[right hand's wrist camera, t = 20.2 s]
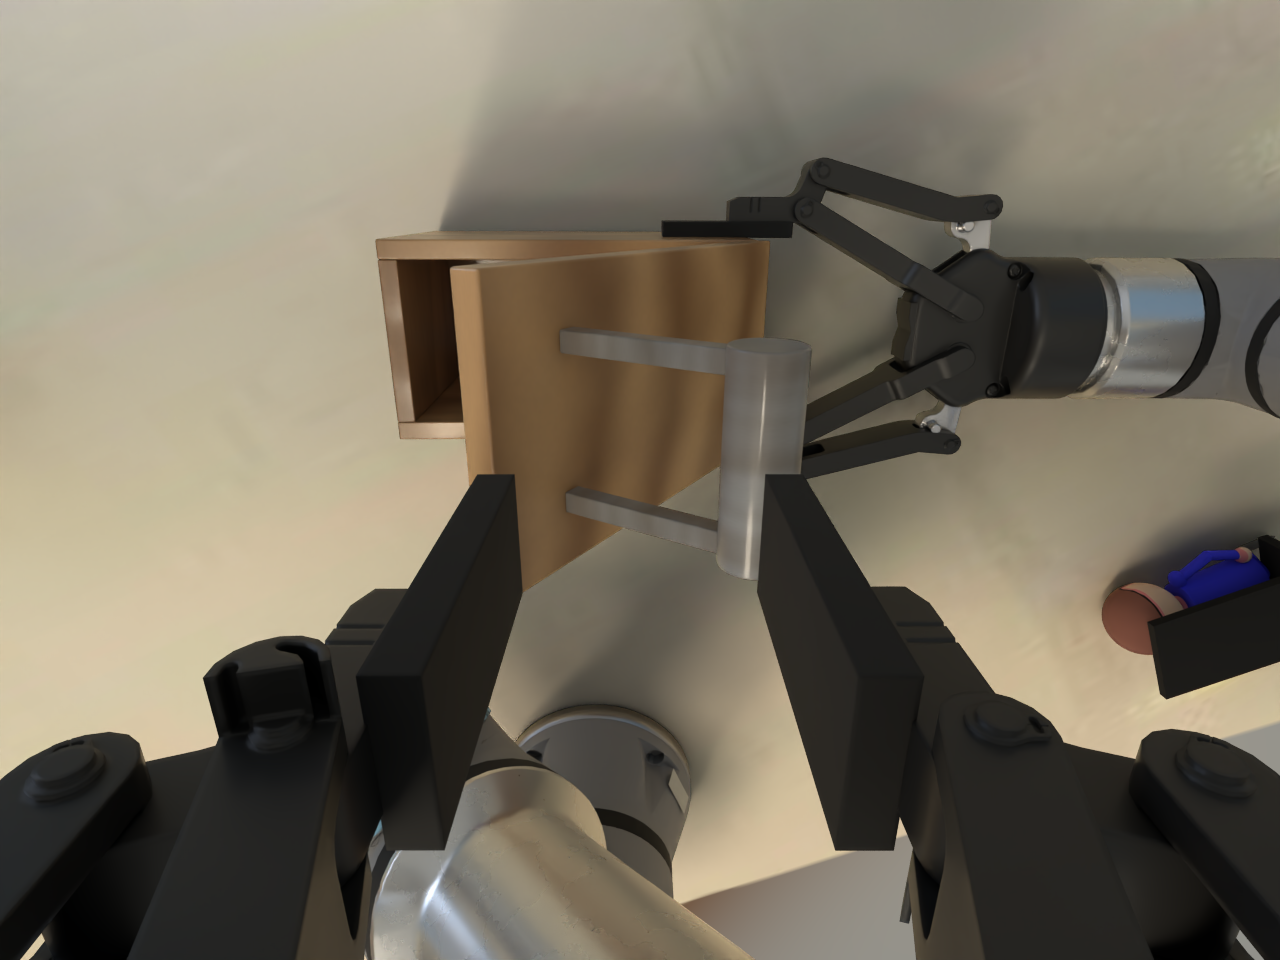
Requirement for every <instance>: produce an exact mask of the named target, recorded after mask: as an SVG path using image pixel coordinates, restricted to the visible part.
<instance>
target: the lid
mask: <svg viewBox="0 0 1280 960" xmlns="http://www.w3.org/2000/svg"><path fill="white" fill-rule="evenodd" d="M769 250H770V241H756V240H749V241H738V242H726V243H715V244H703V245H692V246H680V247H669V248H657V249H646V250H634V251H623V252H611V253H600V254H588V255H577V256H565V257H554V258H542V259H531V260H519V261H508V262H497V263H485V264H474V265H462V266H453V267H451V268H450V275H451V286H452V298H453V309H454V320H455V331H456V342H457V353H458V364H459V375H460V386H461V397H462V408H463V419H464V431H465V442H466V453H467V464H468V475H469V486H471V484H472V482H473V481H474V479H475V477H476V476H477V474H515V485H516V500H517V514H518V529H519V543H520V558H521V572H522V587H523V592H524V591H526V590H528V589H529V588H531V587H532V586H534V585H535V584H537V583H538V582H540V581H542V580H543V579H545V578H546V577H548V576H549V575H551V574H552V573H554V572H556V571H557V570H559V569H560V568H562V567H563V566H565V565H566V564H568V563H570V562H571V561H573V560H574V559H576V558H577V557H579V556H580V555H582V554H584V553H585V552H587V551H588V550H590V549H591V548H593V547H594V546H596V545H598V544H599V543H601V542H602V541H604V540H605V539H607V538H608V537H610V536H612V535H613V534H615V533H616V532H618V531H619V530H621V529H622V528H626V529H630V530H634V531H637V532H641V533H644V534H648V535H652V536H655V537H659V538H662V539H666V540H670V541H673V542H677V543H680V544H684V545H688V546H691V547H695V548H698V549H702V550H706V551H709V552H713V553H716V562H717V564H718V566H719V567H720V568H721V569H722V570H723V571H724V572H726V573H728V574H730V575H732V576H735V577H738V578H741V579H746V580H755V581H758V572H759V558H760V543H761V529H762V514H763V500H764V485H765V474H800V473H801V462H802V451H803V440H804V429H805V418H806V407H807V397H808V386H809V375H810V364H811V353H812V348H811V346H810V345H809V344H806V343H804V342H800V341H796V340H790V339H781V338H764V325H765V310H766V295H767V280H768V265H769ZM719 466H720V486H719V507H718V521H715V520H711V519H707V518H703V517H699V516H695V515H691V514H687V513H683V512H679V511H675V510H671V509H667V508H664V507H660V506H658V505H660V504H661V503H663V502H664V501H666V500H667V499H669V498H671V497H672V496H674V495H675V494H677V493H678V492H680V491H681V490H683V489H685V488H686V487H688V486H689V485H691V484H692V483H694V482H695V481H697V480H699V479H700V478H702V477H703V476H705V475H706V474H708V473H709V472H711V471H713V470H714V469H716V468H717V467H719Z"/></svg>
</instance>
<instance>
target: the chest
mask: <svg viewBox="0 0 1280 960" xmlns="http://www.w3.org/2000/svg"><path fill="white" fill-rule="evenodd" d="M661 233H662V232H575V231H431V232H425V233H417V234H410V235H403V236H395V237H388V238H381V239H376V249H377V257H378V259H380V260H378V266H379V274H380V282H381V290H382V298H383V306H384V314H385V322H386V330H387V338H388V346H389V354H390V362H391V370H392V378H393V386H394V394H395V402H396V410H397V418H398V427H399V435H400V439H465V431H464V419H463V408H462V397H461V386H460V375H459V364H458V353H457V342H456V331H455V320H454V309H453V298H452V286H451V275H450V268H451V267H453V266H462V265H474V264H485V263H497V262H508V261H519V260H531V259H542V258H554V257H565V256H577V255H588V254H600V253H611V252H623V251H634V250H646V249H657V248H669V247H680V246H692V245H703V244H715V243H726V242H738V241H749V240H754V239H750V238H746V237H663V236H662V235H661ZM756 241H757V240H756Z"/></svg>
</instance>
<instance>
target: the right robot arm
mask: <svg viewBox="0 0 1280 960" xmlns="http://www.w3.org/2000/svg"><path fill="white" fill-rule="evenodd" d="M522 593H523V587H522V572H521V558H520V543H519V529H518V514H517V500H516V485H515V474H477V476H476V477H475V479H474V481H473V482H472V484H471V486H470V487H469V489H468V490H467V492H466V494H465V495H464V497H463V499H462V500H461V502H460V504H459V505H458V507H457V509H456V510H455V512H454V514H453V515H452V517H451V519H450V520H449V522H448V524H447V525H446V527H445V529H444V530H443V532H442V534H441V535H440V537H439V539H438V540H437V542H436V543H435V545H434V547H433V548H432V550H431V552H430V553H429V555H428V557H427V558H426V560H425V562H424V563H423V565H422V567H421V568H420V570H419V572H418V573H417V575H416V577H415V578H414V580H413V582H412V583H411V585H410V587H409V588H408V589H374V590H373V591H371V592H370V593H368V594H367V595H365V596H364V597H363V598H361V599H360V600H358V601H357V602H355V603H354V604H352V605H351V606H350V607H349V609H348V610H347V611H346V613H345V614H344V615H343V617H342V618H341V620H340V621H339V622H338V624H337V628H336V629H333V631H332V632H331V634H330V635H329V636H328V638H327V639H326V640H325V644H324V643H322V642H321V641H320V640H318V639H314V638H309V637H305V636H280V637H275V638H271V639H267V640H262V641H258V642H255V643H252V644H250V645H247V646H245V647H243V648H240V649H238V650H235V651H233V652H232V653H230V654H229V655H227V656H226V657H224V658H223V659H221V660H220V661H218V662H217V663H215V664H214V665H213V666H212V668H211V669H210V670H209V671H208V672H207V674H206V675H205V676H204V677H203V680H204V684H205V688H206V691H207V695H208V699H209V702H210V706H211V710H212V713H213V717H214V721H215V724H216V728H217V732H218V736H219V739H218V741H217V744H216V746H213V747H209V748H206V749H202V750H198V751H194V752H189V753H185V754H180V755H175V756H171V757H166V758H161V759H157V760H152V761H148V762H145V759H144V756H143V753H142V750H141V747H140V744H139V743H138V742H137V741H136V740H135V739H133V738H132V737H131V736H129V735H127V734H120V733H113V732H105V733H98V734H90V735H84V736H81V737H77V738H73V739H71V740H66V741H64V742H61V743H58V744H55V745H53V746H52V747H50V748H48V749H46V750H44V751H42V752H40V753H38V754H36V755H34V756H32V757H30V758H28V759H27V760H26V761H24V762H23V763H22V764H20V765H19V766H17V767H16V768H15V769H13V770H12V771H11V772H9V773H8V774H7V775H5V776H4V777H3V778H2V779H1V780H0V960H20V959H21V958H22V957H23V955H24V954H25V953H26V952H27V950H28V949H29V948H30V947H31V945H32V944H33V943H34V942H35V940H36V939H37V938H38V937H39V935H40V934H41V933H42V935H43V937H44V939H45V942H44V943H43V944H42V945H41V947H40V948H39V949H38V951H37V952H36V953H35V954H34V956H33V957H32V958H30V959H29V960H364V954H365V944H366V934H367V924H368V914H369V905H370V895H371V885H372V874H371V867H370V861H369V856H368V851H367V850H368V848H369V846H370V843H371V841H372V838H373V836H374V834H375V831H376V829H377V827H378V824H379V822H380V819H381V824H382V829H383V835H384V841H385V846H386V851H445V848H446V844H447V841H448V838H449V834H450V831H451V828H452V824H453V821H454V818H455V815H456V811H457V808H458V805H459V801H460V798H461V795H462V791H463V788H464V785H465V781H466V778H467V775H468V772H469V768H470V765H471V762H472V758H473V755H474V752H475V748H476V745H477V742H478V739H479V735H480V732H481V729H482V725H483V722H484V719H485V715H486V712H487V709H488V705H489V702H490V699H491V696H492V692H493V689H494V686H495V682H496V679H497V676H498V672H499V669H500V666H501V663H502V659H503V656H504V653H505V649H506V646H507V643H508V639H509V636H510V633H511V629H512V626H513V623H514V620H515V616H516V613H517V610H518V606H519V603H520V600H521V596H522ZM757 593H758V596H759V600H760V603H761V606H762V610H763V613H764V616H765V620H766V623H767V626H768V629H769V633H770V636H771V639H772V643H773V646H774V649H775V653H776V656H777V659H778V663H779V666H780V669H781V672H782V676H783V679H784V682H785V686H786V689H787V692H788V696H789V699H790V702H791V705H792V709H793V712H794V715H795V719H796V722H797V725H798V729H799V732H800V735H801V739H802V742H803V745H804V748H805V752H806V755H807V758H808V762H809V765H810V768H811V772H812V775H813V778H814V781H815V785H816V788H817V791H818V795H819V798H820V801H821V805H822V808H823V811H824V815H825V818H826V821H827V824H828V828H829V831H830V834H831V838H832V841H833V844H834V848H835V851H893V850H894V846H895V841H896V835H897V829H898V824H899V818H901V821H902V823H903V825H904V828H905V830H906V832H907V835H908V837H909V840H910V842H911V844H912V846H913V851H912V856H911V861H910V867H909V872H908V877H907V882H906V888H905V893H904V898H903V904H902V910H901V916H900V922H904V923H909V921H910V916H911V913H912V922H913V932H914V942H915V952H916V960H1254V959H1253V958H1252V957H1251V956H1250V955H1249V954H1248V953H1247V951H1246V950H1245V949H1244V948H1243V946H1242V945H1241V944H1240V943H1239V941H1238V940H1237V939H1236V937H1237V935H1238V933H1239V930H1241V931H1242V933H1243V934H1244V935H1245V936H1246V937H1247V939H1248V940H1249V941H1250V943H1251V944H1252V945H1253V946H1254V948H1255V949H1256V950H1257V951H1258V952H1259V954H1260V955H1261V956H1262V957H1263V959H1264V960H1280V776H1279V775H1278V774H1277V773H1276V772H1275V771H1273V770H1272V769H1271V768H1269V767H1268V766H1267V765H1265V764H1264V763H1263V762H1261V761H1260V760H1259V759H1257V758H1256V757H1254V756H1253V755H1251V754H1249V753H1247V752H1245V751H1243V750H1241V749H1239V748H1237V747H1235V746H1233V745H1231V744H1230V743H1228V742H1226V741H1223V740H1221V739H1218V738H1215V737H1210V736H1209V735H1205V734H1201V733H1198V732H1191V731H1184V730H1176V729H1168V730H1161V731H1154V732H1151V733H1150V734H1149V735H1148V736H1146V737H1145V738H1144V739H1143V740H1142V741H1141V744H1140V747H1139V750H1138V753H1137V756H1136V759H1133V758H1128V757H1123V756H1119V755H1114V754H1110V753H1105V752H1100V751H1096V750H1091V749H1086V748H1082V747H1078V746H1075V745H1071V744H1067V743H1064V742H1063V740H1062V738H1061V736H1060V734H1059V733H1058V732H1057V730H1056V729H1055V727H1054V726H1053V725H1052V723H1051V722H1050V721H1049V720H1048V719H1046V718H1045V717H1044V716H1043V715H1041V714H1040V713H1039V712H1037V711H1036V710H1035V709H1033V708H1032V707H1030V706H1028V705H1026V704H1023V703H1021V702H1019V701H1017V700H1015V699H1013V698H1011V697H1007V696H1003V695H999V694H995V692H994V691H993V690H992V688H991V687H990V686H989V684H988V683H987V681H986V680H985V679H984V677H983V676H982V674H981V673H980V672H979V670H978V669H977V668H976V666H975V665H974V663H973V662H972V661H971V659H970V658H969V657H968V655H967V654H966V652H965V651H964V650H963V648H962V647H961V646H960V644H959V643H956V642H955V637H954V636H953V635H952V633H951V632H950V630H949V629H948V628H947V626H944V622H943V621H942V619H941V618H940V617H939V615H938V614H937V613H936V611H935V610H934V608H933V607H932V606H931V604H930V603H929V602H927V601H926V600H924V599H923V598H921V597H920V596H918V595H917V594H915V593H914V592H912V591H911V590H909V589H908V588H906V587H870V585H869V583H868V582H867V580H866V578H865V577H864V575H863V573H862V572H861V570H860V568H859V567H858V565H857V563H856V562H855V560H854V558H853V557H852V555H851V553H850V552H849V550H848V548H847V547H846V545H845V543H844V542H843V540H842V539H841V537H840V535H839V534H838V532H837V530H836V529H835V527H834V525H833V524H832V522H831V520H830V519H829V517H828V515H827V514H826V512H825V510H824V509H823V507H822V505H821V504H820V502H819V500H818V499H817V497H816V495H815V494H814V492H813V490H812V489H811V487H810V486H809V484H808V482H807V481H806V479H805V477H804V476H803V474H765V485H764V500H763V514H762V529H761V543H760V558H759V572H758V587H757Z"/></svg>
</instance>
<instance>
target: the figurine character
mask: <svg viewBox="0 0 1280 960" xmlns="http://www.w3.org/2000/svg"><path fill="white" fill-rule="evenodd" d="M1274 537H1275V536H1270V535H1265V536H1261V537H1258V539H1257V540H1254V541H1252V542H1249V543H1247V544H1244V545H1242V546H1240V547H1237V548H1235V550H1213V551H1203V552H1202V553H1201V554H1199V555H1198V556H1197V557H1196V558H1195V559H1193V560H1192V561H1191V562H1190V563H1188V564H1187V565H1186V566H1185V567H1184V568H1182V569H1181V570H1180V571H1172V572H1170V573H1169V574H1168V581H1169V584H1167V585H1166V586H1165V588H1164V589H1163V588H1161V587H1159V586H1156V585H1152V584H1148V583H1131V584H1127V585H1124V586H1121V587H1119V588H1117V589H1116V590H1114V591H1113V592H1112V593H1111V594H1110V595H1109V596H1108V597H1107V599H1106V600H1105V602H1104V605H1103V608H1102V620H1103V624H1104V627H1105V629H1106V631H1107V633H1108V634H1109V636H1110V637H1111V638H1112V639H1113V640H1114V641H1115V642H1116V643H1117V644H1118V645H1120V646H1121V647H1123V648H1125V649H1127V650H1129V651H1131V652H1134V653H1138V654H1144V655H1153V658H1154V663H1155V669H1156V674H1157V680H1158V685H1159V691H1160V694H1161V695H1162V696H1163V697H1164V698H1166V699H1169V698H1172V697H1175V696H1178V695H1181V694H1184V693H1187V692H1190V691H1193V690H1196V689H1199V688H1202V687H1205V686H1208V685H1211V684H1214V683H1217V682H1220V681H1223V680H1226V679H1229V678H1232V677H1235V676H1238V675H1241V674H1244V673H1247V672H1250V671H1253V670H1256V669H1259V668H1262V667H1265V666H1268V665H1271V664H1274V663H1277V662H1280V541H1278V540H1276V539H1274ZM1256 548H1259V552H1260V560H1261V561H1260V560H1259V559H1258V558H1257V557H1256V556H1255V555H1254V554H1253V553H1252V552H1251V551H1252V550H1254V549H1256ZM1211 560H1224V561H1222V562H1220V563H1217V564H1215V565H1212V566H1210V567H1208V568H1205V569H1203V570H1200V569H1202V568H1203V567H1204V566H1205V565H1206V564H1208V563H1209V562H1210V561H1211ZM1199 570H1200V571H1199Z"/></svg>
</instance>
